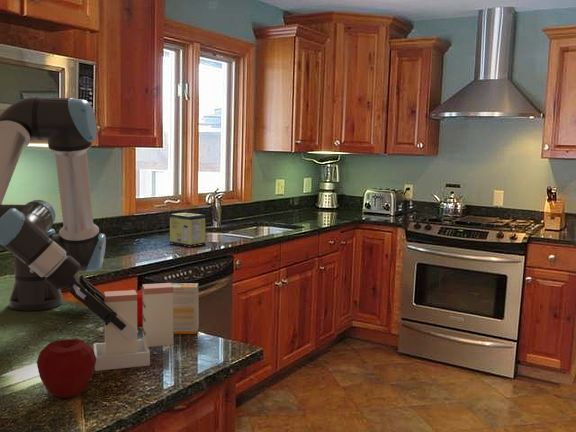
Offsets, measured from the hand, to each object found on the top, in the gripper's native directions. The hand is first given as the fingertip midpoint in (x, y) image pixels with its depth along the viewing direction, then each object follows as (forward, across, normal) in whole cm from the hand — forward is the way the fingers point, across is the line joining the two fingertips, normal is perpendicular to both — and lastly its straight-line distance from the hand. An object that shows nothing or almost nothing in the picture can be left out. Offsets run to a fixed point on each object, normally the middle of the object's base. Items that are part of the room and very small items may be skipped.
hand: (133, 332), depth 135 cm
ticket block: (+10, -10, 0) cm, 14 cm away
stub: (+1, 0, -5) cm, 5 cm away
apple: (-5, +16, -15) cm, 23 cm away
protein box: (+33, -154, +24) cm, 159 cm away
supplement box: (+15, -18, +6) cm, 24 cm away
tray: (+3, 0, -7) cm, 7 cm away
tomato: (+9, -27, 0) cm, 29 cm away
